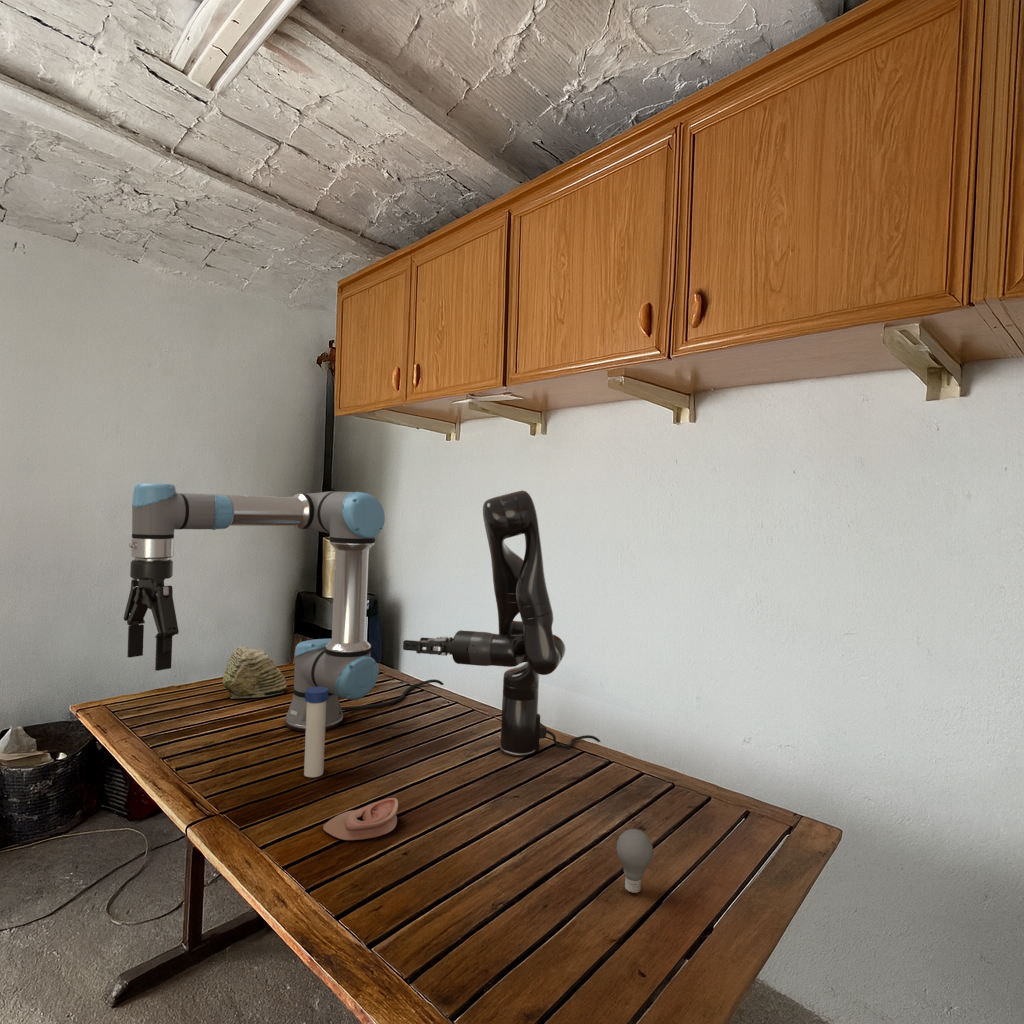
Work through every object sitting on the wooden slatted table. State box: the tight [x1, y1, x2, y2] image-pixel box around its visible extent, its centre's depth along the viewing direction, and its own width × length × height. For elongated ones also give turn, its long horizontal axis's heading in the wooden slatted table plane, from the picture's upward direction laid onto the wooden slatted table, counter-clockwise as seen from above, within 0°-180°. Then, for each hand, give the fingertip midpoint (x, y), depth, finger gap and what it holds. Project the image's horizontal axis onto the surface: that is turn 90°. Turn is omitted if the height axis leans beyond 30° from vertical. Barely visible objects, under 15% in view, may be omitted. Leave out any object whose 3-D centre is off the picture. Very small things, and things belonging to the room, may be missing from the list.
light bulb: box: [615, 828, 654, 894], centre depth 106 cm, size 6×6×10 cm
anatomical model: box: [322, 797, 399, 841], centre depth 122 cm, size 13×4×12 cm
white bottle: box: [303, 701, 326, 778], centre depth 145 cm, size 4×4×19 cm
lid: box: [305, 687, 329, 703], centre depth 144 cm, size 5×5×2 cm
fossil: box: [222, 646, 288, 699], centre depth 198 cm, size 9×18×15 cm, turn 132°
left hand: (148, 662), depth 129 cm, fingers open, 13 cm apart
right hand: (412, 643), depth 149 cm, fingers open, 8 cm apart
